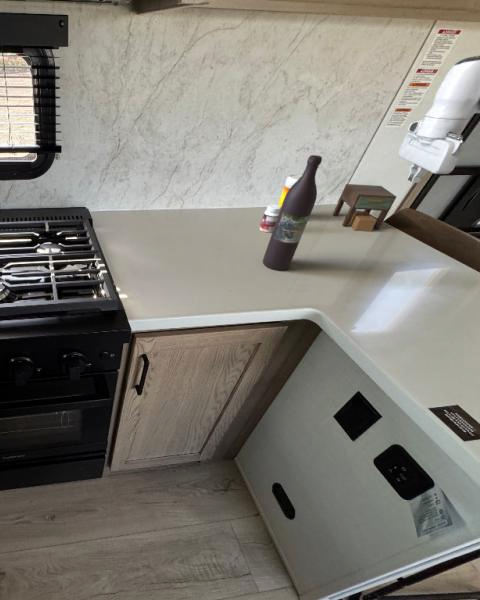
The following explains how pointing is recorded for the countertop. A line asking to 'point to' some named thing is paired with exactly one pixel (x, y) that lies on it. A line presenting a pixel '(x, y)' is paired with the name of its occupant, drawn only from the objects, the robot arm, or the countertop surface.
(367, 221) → the storage box
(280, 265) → the wine bottle
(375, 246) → the countertop surface
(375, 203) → the drawer table
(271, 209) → the pill bottle
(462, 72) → the robot arm
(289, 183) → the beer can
